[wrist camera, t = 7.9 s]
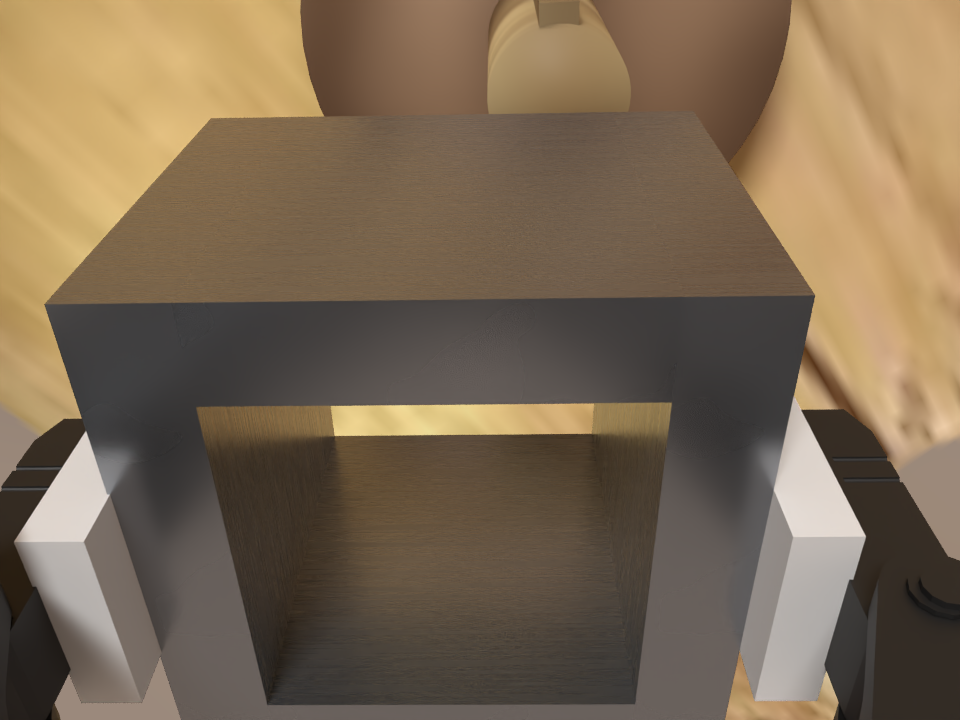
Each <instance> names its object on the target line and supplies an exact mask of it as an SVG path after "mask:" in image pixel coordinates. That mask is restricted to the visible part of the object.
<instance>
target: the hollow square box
mask: <svg viewBox="0 0 960 720" xmlns="http://www.w3.org/2000/svg"><path fill="white" fill-rule="evenodd" d="M814 298H815V294H814V293H813V291H812V290H811V288H810V287H809V285H808V284H807V282H806V281H805V279H804V278H803V276H802V275H801V273H800V272H799V270H798V269H797V267H796V266H795V264H794V263H793V261H792V260H791V258H790V256H789V255H788V253H787V252H786V250H785V249H784V247H783V246H782V244H781V243H780V241H779V240H778V238H777V237H776V235H775V234H774V232H773V231H772V229H771V228H770V226H769V225H768V223H767V222H766V220H765V219H764V217H763V216H762V214H761V213H760V211H759V210H758V208H757V206H756V205H755V203H754V202H753V200H752V199H751V197H750V196H749V194H748V193H747V191H746V190H745V188H744V187H743V185H742V184H741V182H740V181H739V179H738V178H737V176H736V175H735V173H734V172H733V170H732V169H731V167H730V166H729V164H728V163H727V161H726V160H725V158H724V156H723V155H722V153H721V152H720V150H719V149H718V147H717V146H716V144H715V143H714V141H713V140H712V138H711V137H710V135H709V134H708V132H707V131H706V129H705V128H704V126H703V125H702V123H701V122H700V120H699V119H698V117H697V116H696V114H695V113H694V111H651V112H588V113H525V114H462V115H399V116H336V117H274V118H211V119H210V120H209V121H208V122H207V124H206V125H205V126H204V127H203V128H202V129H201V130H200V131H199V133H198V134H197V135H196V136H195V137H194V138H193V139H192V140H191V141H190V143H189V144H188V145H187V146H186V147H185V148H184V149H183V150H182V151H181V153H180V154H179V155H178V156H177V157H176V158H175V159H174V160H173V162H172V163H171V164H170V165H169V166H168V167H167V168H166V169H165V170H164V172H163V173H162V174H161V175H160V176H159V177H158V178H157V179H156V180H155V182H154V183H153V184H152V185H151V186H150V187H149V188H148V189H147V191H146V192H145V193H144V194H143V195H142V196H141V197H140V198H139V199H138V201H137V202H136V203H135V204H134V205H133V206H132V207H131V208H130V209H129V211H128V212H127V213H126V214H125V215H124V216H123V217H122V218H121V220H120V221H119V222H118V223H117V224H116V225H115V226H114V227H113V228H112V230H111V231H110V232H109V233H108V234H107V235H106V236H105V237H104V238H103V240H102V241H101V242H100V243H99V244H98V245H97V246H96V247H95V248H94V250H93V251H92V252H91V253H90V254H89V255H88V256H87V257H86V259H85V260H84V261H83V262H82V263H81V264H80V265H79V266H78V267H77V269H76V270H75V271H74V272H73V273H72V274H71V275H70V276H69V277H68V279H67V280H66V281H65V282H64V283H63V284H62V285H61V286H60V288H59V289H58V290H57V291H56V292H55V293H54V294H53V295H52V296H51V298H50V299H49V300H48V301H47V302H46V303H45V304H44V305H45V308H46V311H47V314H48V317H49V320H50V323H51V326H52V329H53V332H54V335H55V338H56V341H57V344H58V347H59V350H60V353H61V356H62V359H63V362H64V365H65V368H66V371H67V374H68V377H69V380H70V383H71V387H72V390H73V393H74V396H75V399H76V402H77V405H78V408H79V411H80V414H81V417H82V420H83V423H84V426H85V429H86V432H87V435H88V438H89V441H90V444H91V447H92V450H93V453H94V456H95V459H96V462H97V465H98V469H99V472H100V475H101V478H102V481H103V484H104V487H105V490H106V493H107V495H110V496H111V499H112V502H113V505H114V509H115V512H116V515H117V518H118V521H119V524H120V527H121V530H122V533H123V536H124V539H125V542H126V545H127V548H128V551H129V554H130V557H131V561H132V564H133V567H134V570H135V573H136V576H137V579H138V582H139V585H140V588H141V591H142V594H143V597H144V600H145V603H146V606H147V609H148V612H149V616H150V619H151V622H152V625H153V628H154V631H155V634H156V637H157V640H158V643H159V646H160V649H161V652H162V653H161V655H160V657H161V660H162V663H163V666H164V669H165V672H166V675H167V678H168V681H169V684H170V687H171V690H172V693H173V696H174V699H175V702H176V705H177V708H178V711H179V715H180V718H181V720H725V717H726V712H727V707H728V702H729V698H730V693H731V688H732V684H733V679H734V674H735V670H736V665H737V660H738V655H739V651H740V646H741V641H742V637H743V632H744V627H745V623H746V618H747V613H748V609H749V604H750V599H751V594H752V590H753V585H754V580H755V576H756V571H757V566H758V562H759V557H760V552H761V547H762V543H763V538H764V533H765V529H766V524H767V519H768V515H769V510H770V505H771V500H772V496H773V491H774V486H775V482H776V477H777V472H778V468H779V463H780V458H781V453H782V449H783V444H784V439H785V435H786V430H787V425H788V421H789V416H790V411H791V407H792V402H793V397H794V392H795V388H796V383H797V378H798V374H799V369H800V364H801V360H802V355H803V350H804V345H805V341H806V336H807V331H808V327H809V322H810V317H811V313H812V308H813V303H814ZM570 403H594V411H593V427H592V434H531V435H412V436H334V428H333V421H332V414H331V407H330V406H352V405H461V404H570Z"/></svg>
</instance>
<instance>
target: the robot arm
mask: <svg viewBox="0 0 960 720" xmlns="http://www.w3.org/2000/svg"><path fill="white" fill-rule="evenodd" d="M899 478H900V477H899V475H898V474H897V472H896V470H895V469H894V467H893V465H892V464H891V462H890V461H887V456H886V454H885V452H884V451H883V449H882V447H881V446H880V444H879V442H878V441H877V439H876V437H875V436H874V434H873V433H872V431H871V430H869V429H868V428H867V427H866V426H864V425H863V424H862V423H860V422H859V421H858V420H857V419H855V418H854V417H853V416H852V415H850V414H849V413H848V412H846V411H845V410H844V409H841V410H801V409H800V407H799V405H798V403H797V401H796V399H795V397H793V402H792V407H791V411H790V416H789V421H788V425H787V430H786V435H785V439H784V444H783V449H782V453H781V458H780V463H779V468H778V472H777V477H776V482H775V486H774V491H773V496H772V500H771V505H770V510H769V515H768V519H767V524H766V529H765V533H764V538H763V543H762V547H761V552H760V557H759V562H758V566H757V571H756V576H755V580H754V585H753V590H752V594H751V599H750V604H749V609H748V613H747V618H746V623H745V627H744V632H743V637H742V641H741V646H740V653H741V657H742V660H743V663H744V667H745V670H746V674H747V677H748V680H749V684H750V687H751V691H752V694H753V697H754V701H817V700H818V696H819V693H820V689H821V686H822V683H823V679H824V676H825V673H826V671H827V673H828V676H829V678H830V681H831V683H832V686H833V689H834V691H835V694H836V696H837V699H838V702H839V704H838V707H837V710H836V713H835V716H834V720H960V561H959V560H956V559H954V558H951V557H948V556H947V554H946V553H945V551H944V549H943V548H942V546H941V544H940V543H939V541H938V539H937V538H936V536H935V535H934V533H933V531H932V530H931V528H930V526H929V525H928V523H927V521H926V520H925V518H924V517H923V515H922V513H921V511H920V510H919V508H918V507H917V505H916V503H915V502H914V500H913V498H912V497H911V495H910V493H909V492H908V490H907V488H906V487H905V485H904V484H903V482H900V480H899ZM161 653H162V652H161V649H160V646H159V643H158V640H157V637H156V634H155V631H154V628H153V625H152V622H151V619H150V616H149V612H148V609H147V606H146V603H145V600H144V597H143V594H142V591H141V588H140V585H139V582H138V579H137V576H136V573H135V570H134V567H133V564H132V561H131V557H130V554H129V551H128V548H127V545H126V542H125V539H124V536H123V533H122V530H121V527H120V524H119V521H118V518H117V515H116V512H115V509H114V505H113V502H112V499H111V496H110V495H107V493H106V490H105V487H104V484H103V481H102V478H101V475H100V472H99V469H98V465H97V462H96V459H95V456H94V453H93V450H92V447H91V444H90V441H89V438H88V435H87V432H86V429H85V426H84V423H83V420H82V419H63V420H62V421H61V422H59V423H58V424H57V425H55V426H54V427H53V428H51V429H50V430H48V431H47V432H46V433H44V434H43V435H42V436H40V437H39V438H38V439H36V440H35V441H34V442H33V443H32V445H31V446H30V448H29V449H28V450H27V452H26V453H25V455H24V456H23V457H22V459H21V460H20V461H19V463H18V464H17V466H16V471H12V473H11V474H10V475H9V477H8V478H7V480H6V481H5V482H4V484H3V485H2V491H1V492H0V720H60V716H59V713H58V711H57V708H56V706H55V704H54V703H55V701H56V699H57V697H58V695H59V693H60V690H61V689H62V686H63V685H64V683H65V680H66V678H67V676H68V674H70V677H71V679H72V682H73V684H74V686H75V689H76V691H77V694H78V696H79V698H80V701H81V703H142V701H143V699H144V696H145V694H146V691H147V689H148V686H149V683H150V680H151V678H152V676H153V673H154V671H155V668H156V665H157V663H158V660H159V658H160V655H161Z"/></svg>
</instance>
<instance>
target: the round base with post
mask: <svg viewBox="0 0 960 720" xmlns="http://www.w3.org/2000/svg"><path fill="white" fill-rule="evenodd" d="M300 13H301V25H302V37H303V47H304V52H305V56H306V61H307V66H308V71H309V75H310V79H311V82H312V85H313V88H314V91H315V94H316V97H317V100H318V102H319V105H320V108H321V110H322V112H323V114H324V116H325V117H336V116H399V115H462V114H525V113H588V112H651V111H694V113H695V114H696V116H697V117H698V119H699V120H700V122H701V123H702V125H703V126H704V128H705V129H706V131H707V132H708V134H709V135H710V137H711V138H712V140H713V141H714V143H715V144H716V146H717V147H718V149H719V150H720V152H721V153H722V155H723V156H724V158H725V160H726V161H727V163H729V161H730V160H731V159H732V158H733V156H734V155H735V154H736V153H737V151H738V150H739V149H740V148H741V146H742V145H743V143H744V142H745V140H746V138H747V137H748V135H749V134H750V132H751V130H752V129H753V127H754V125H755V124H756V122H757V121H758V119H759V117H760V115H761V113H762V111H763V108H764V106H765V104H766V102H767V100H768V98H769V96H770V94H771V91H772V89H773V86H774V83H775V80H776V77H777V74H778V71H779V68H780V65H781V62H782V59H783V55H784V50H785V45H786V40H787V35H788V30H789V25H790V13H791V0H301V12H300Z"/></svg>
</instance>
